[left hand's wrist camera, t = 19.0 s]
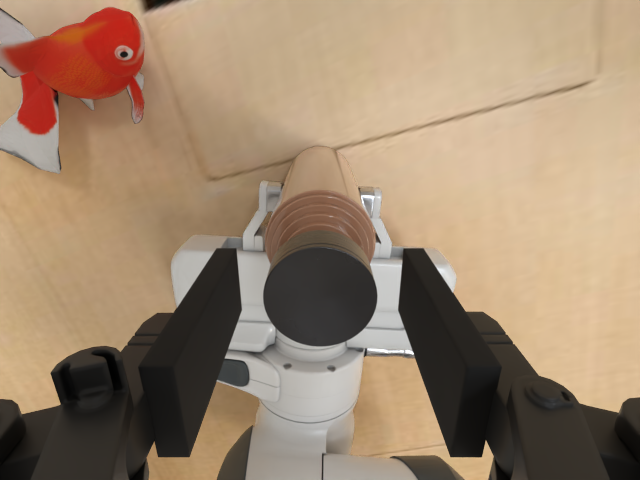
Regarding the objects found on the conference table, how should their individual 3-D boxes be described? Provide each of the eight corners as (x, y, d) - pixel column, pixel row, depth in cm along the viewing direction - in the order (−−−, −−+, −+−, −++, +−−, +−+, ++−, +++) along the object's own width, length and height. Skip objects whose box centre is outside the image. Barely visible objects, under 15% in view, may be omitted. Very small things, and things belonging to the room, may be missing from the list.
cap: (294, 212, 14) (291, 228, 12) (390, 255, 14) (398, 276, 13) (253, 298, 15) (245, 322, 13) (342, 334, 16) (345, 361, 14)
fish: (201, 169, 27) (45, 147, 18) (73, 184, 34) (-84, 174, 25) (194, 13, 26) (29, -90, 17) (65, 63, 33) (-98, 7, 24)
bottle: (310, 219, 33) (298, 371, 15) (276, 168, 31) (217, 270, 13) (363, 188, 32) (418, 311, 14) (330, 133, 30) (346, 193, 12)
